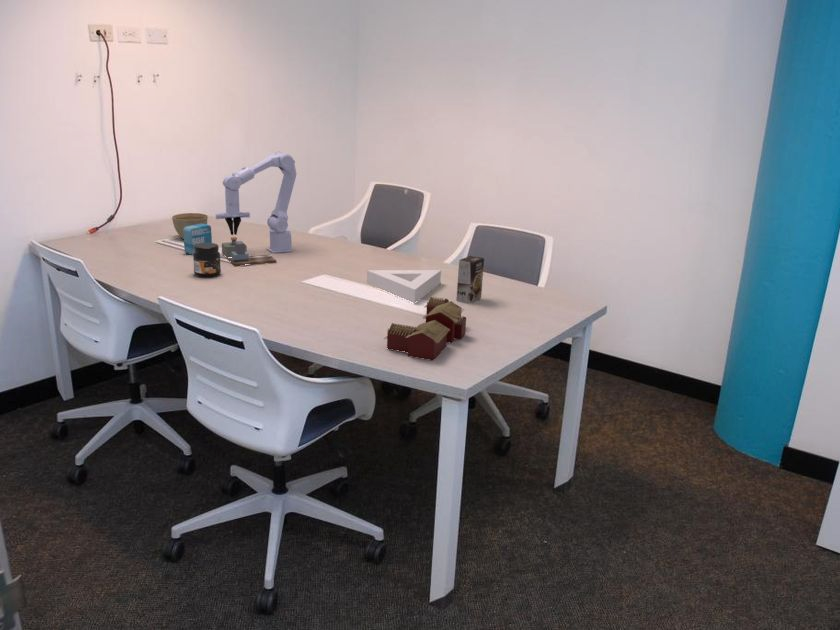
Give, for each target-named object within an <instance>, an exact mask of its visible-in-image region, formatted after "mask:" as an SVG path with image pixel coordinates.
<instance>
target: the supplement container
mask: <svg viewBox="0 0 840 630" xmlns="http://www.w3.org/2000/svg"><path fill="white" fill-rule="evenodd" d="M219 250H220V247H219V244H217V243H214V242H212V243H199V244H196V245H194V251H195V252H194V253H193V255H192V257H193V261H192V262H193V273H194V275H195V276H196V277H199V278H214V276H215V277H218V276H219V275H220V274H221V272H222V270H221V253H220V251H219Z"/></svg>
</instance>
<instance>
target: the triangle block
mask: <svg viewBox="0 0 840 630" xmlns="http://www.w3.org/2000/svg"><path fill="white" fill-rule="evenodd" d="M441 277H442V269H407V270H406V269H405V270H403V269H396V270H395V269H392V270H391V269H387V270H385V269H384V270H383V269H381V270H378V269H375V270H373V269H372V270H371V269H369V270H366V284H367V283H368V284H370V285H373V286H375V287H377V288H380V289H382V290H385V291H387V292H390V293H392V294H394V295H397V296H399V297H401V298H404V299H406V300H409V301H411V302H413V303H415V302H416V301H418V300H419V299H420V300H422V299H423V298H424V297H425V295H426V294H427V293H428V294H429V293H430V291H431V290H432V291H433V290H434V289H436V288H437V287H438V286H439V285H441V283H442V281H441V279H442V278H441ZM368 284H367V285H368ZM370 285H369V286H370ZM436 286H437V287H436ZM375 287H374V288H375ZM435 287H436V288H435ZM377 288H376V289H377ZM382 290H381V291H382ZM432 291H431V292H432ZM428 294H427V295H428ZM427 295H426V296H427ZM423 296H424V297H423ZM422 297H423V298H422ZM421 298H422V299H421ZM420 300H419V301H420ZM419 301H418V302H419ZM415 304H416V303H415Z"/></svg>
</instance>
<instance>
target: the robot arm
mask: <svg viewBox="0 0 840 630" xmlns="http://www.w3.org/2000/svg"><path fill="white" fill-rule="evenodd" d="M295 163H296V161H295V160H294V158H293V156H292V155H291V154H289V153H284V152H282V151H276V152H274V153H272V154H269V155H268V156H267V157H266V158H264V159H262V160H261V161H259V162H258V163H256V164H254V165H253V166H241V169H240V170H238V171H236V172H232V174H229V175H226V176H225V177H224V178H223V181H222V186H223V187H224V195H225V212H222V213H215V220H222V219H223V220H225V222H226V224H227V226H228V228H229V233H230V235H231V236H234V235H235V236H237V234H238V230H239V227H240V224H241V222H242V218H247V219H250V218H251V213H250V212H249V211H248V212H247V211H246V212H240V192H239V191H240V190H239V189H240V188H241V187H242V185H245V184H247V183H248V182H249V181H251V180H253V179H255V176H256V175H257V174H258V173H261V172H263V171H265V170H267V169H269V168H272V167H273V168H274V167H275V168H278V169H279V170H280V171H281V173H282V174H283V177H282V180H281V184H280V188H279V192H278V195H277V200H276V203H275V207H274V209H273V210H272V211H271V214H270V216H269V217H268V218H267V223H266V224H267V226H268V227H269V247H267V248H266V249H267V250H268V251H270V253H273V254H274V253H275V254H276V253H287V252H293V249H292V246H293V245H292V234H291V231H289V230H288V227H289V224H288V219H289V217H288V212H287V211H288V208H289V204H290V201H291V197H292V192H293V190H294V185H295V183H296V182H295V181H296V177H297V169H296V165H295Z"/></svg>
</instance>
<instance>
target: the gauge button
mask: <svg viewBox="0 0 840 630" xmlns="http://www.w3.org/2000/svg"><path fill="white" fill-rule="evenodd" d="M230 241H231V242H232V245H235V242H236V241H238V237H235V236H234V237H232V236H231V237H230Z"/></svg>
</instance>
